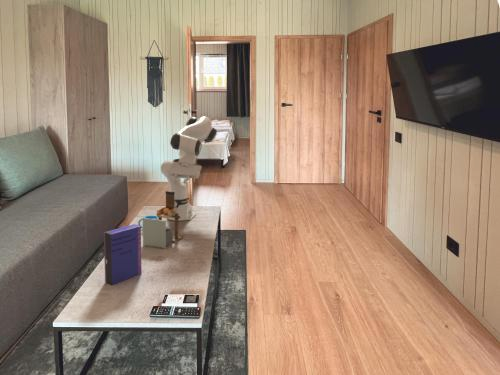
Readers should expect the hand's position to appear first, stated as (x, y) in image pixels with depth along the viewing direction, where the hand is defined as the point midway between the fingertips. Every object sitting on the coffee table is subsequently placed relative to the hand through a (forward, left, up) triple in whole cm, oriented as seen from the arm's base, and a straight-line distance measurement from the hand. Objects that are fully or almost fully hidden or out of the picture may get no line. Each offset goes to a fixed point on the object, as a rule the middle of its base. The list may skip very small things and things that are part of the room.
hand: (179, 182), depth 297 cm
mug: (+4, -20, -32) cm, 38 cm away
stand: (+15, 0, -31) cm, 35 cm away
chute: (+16, 0, -18) cm, 24 cm away
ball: (+17, 0, -14) cm, 22 cm away
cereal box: (+76, +9, -32) cm, 83 cm away
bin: (+26, 0, -31) cm, 41 cm away
